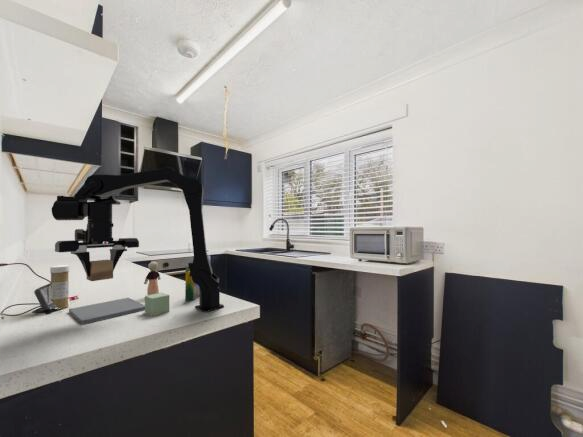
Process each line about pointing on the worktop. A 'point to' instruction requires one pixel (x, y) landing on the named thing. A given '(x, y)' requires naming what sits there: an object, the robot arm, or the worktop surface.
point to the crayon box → (190, 287)
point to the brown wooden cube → (101, 270)
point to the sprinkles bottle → (59, 285)
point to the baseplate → (105, 310)
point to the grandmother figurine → (152, 279)
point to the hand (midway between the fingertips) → (100, 274)
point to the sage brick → (156, 304)
